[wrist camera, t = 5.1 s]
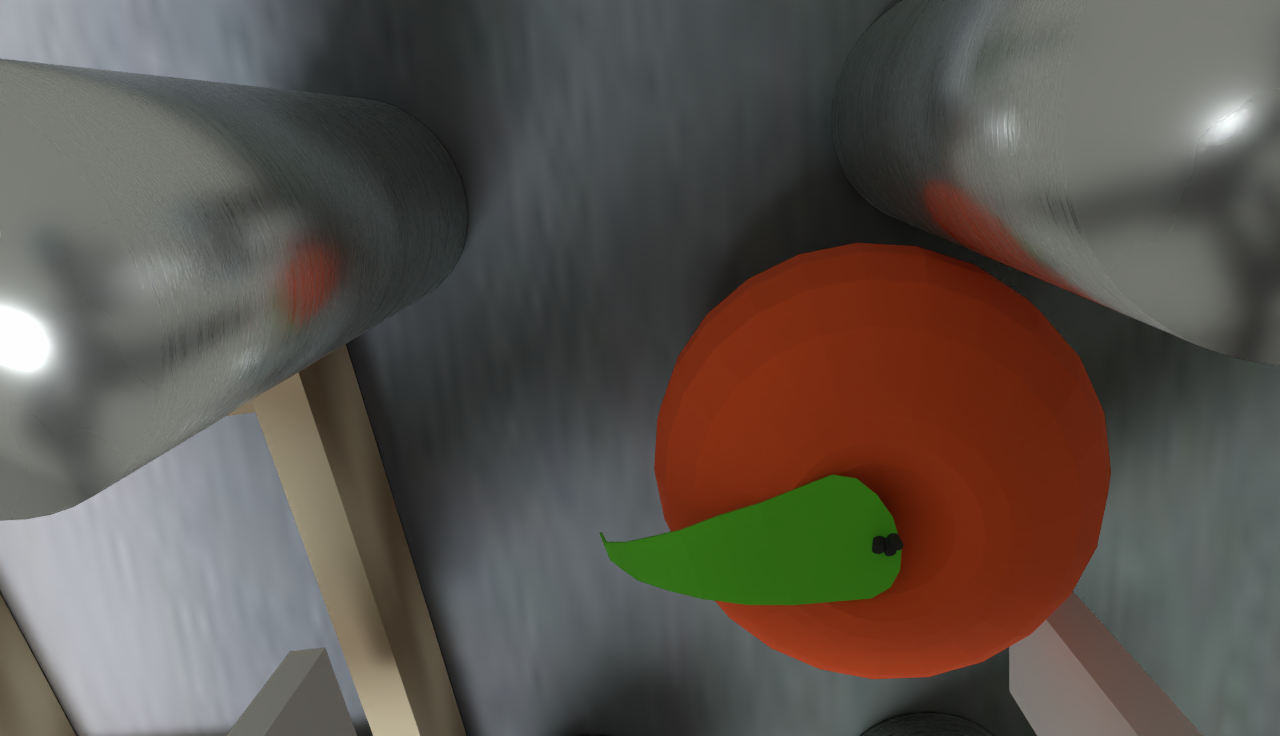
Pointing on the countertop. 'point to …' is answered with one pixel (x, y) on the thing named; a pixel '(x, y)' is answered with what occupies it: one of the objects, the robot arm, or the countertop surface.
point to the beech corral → (316, 565)
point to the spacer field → (437, 213)
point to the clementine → (877, 463)
